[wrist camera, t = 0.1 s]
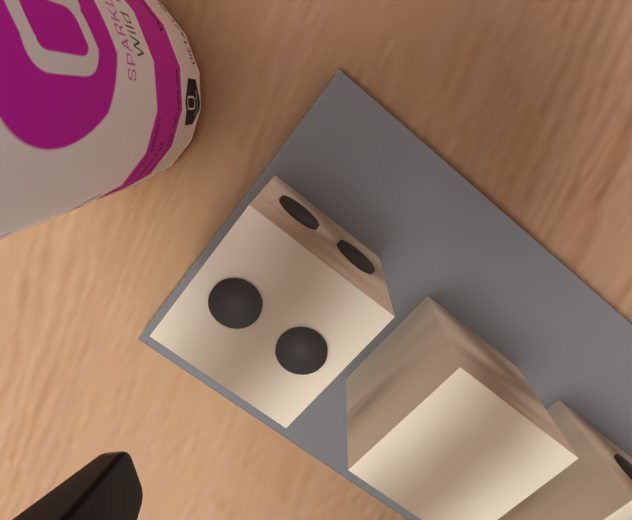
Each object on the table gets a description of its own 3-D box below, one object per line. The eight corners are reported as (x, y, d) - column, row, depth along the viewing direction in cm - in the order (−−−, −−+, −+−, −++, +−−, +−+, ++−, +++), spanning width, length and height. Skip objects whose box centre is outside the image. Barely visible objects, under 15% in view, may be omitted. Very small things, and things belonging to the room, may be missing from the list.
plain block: (517, 366, 22) (578, 458, 16) (432, 440, 24) (461, 546, 18) (427, 295, 21) (460, 367, 15) (345, 378, 23) (348, 470, 17)
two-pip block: (381, 255, 20) (398, 315, 15) (299, 345, 22) (285, 430, 16) (277, 172, 19) (251, 201, 14) (200, 273, 21) (147, 338, 15)
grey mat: (714, 397, 23) (726, 407, 22) (486, 561, 28) (490, 574, 27) (339, 70, 19) (339, 69, 18) (144, 330, 23) (137, 338, 23)
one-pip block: (639, 460, 23) (737, 577, 18) (549, 524, 25) (611, 650, 19) (561, 398, 22) (638, 500, 17) (472, 469, 24) (514, 585, 18)
